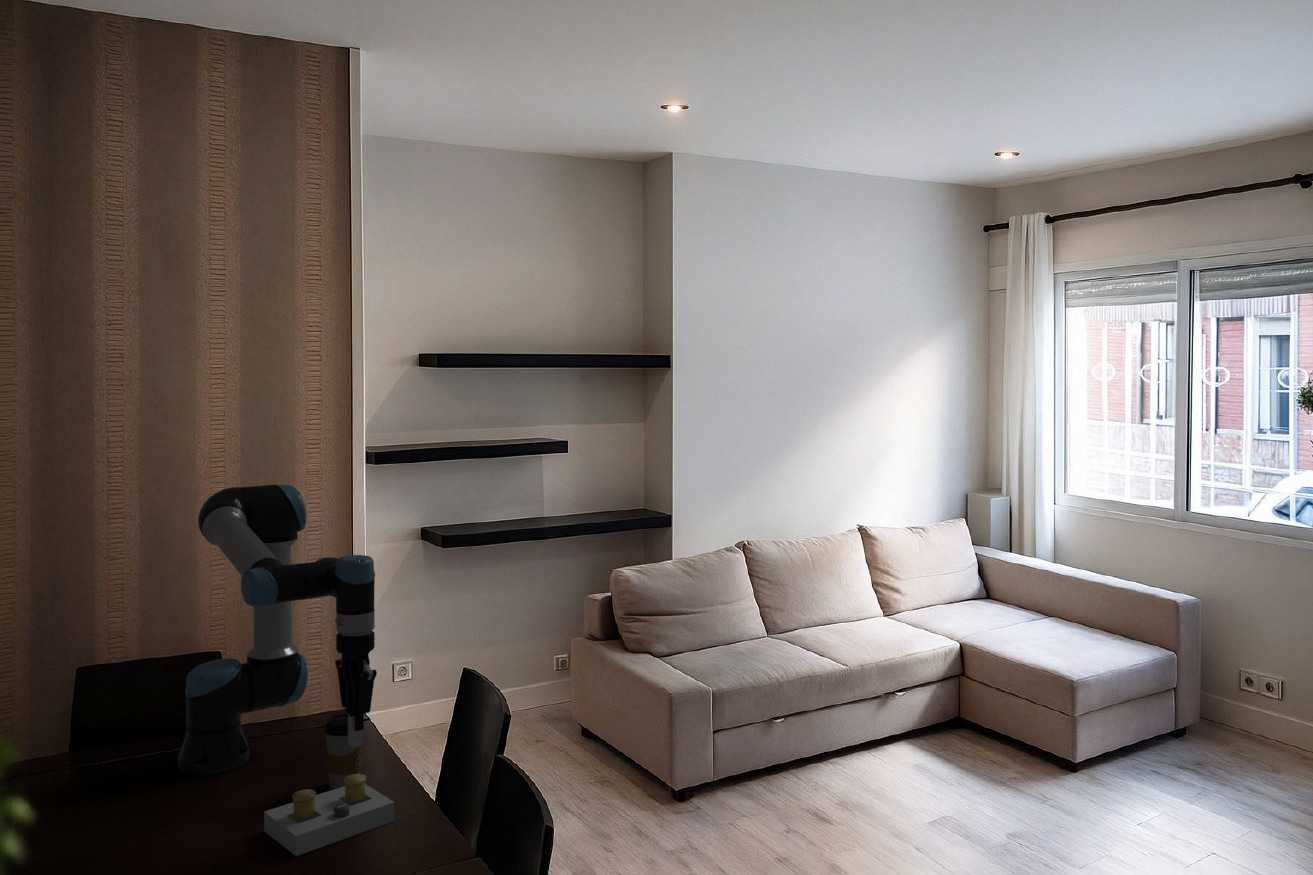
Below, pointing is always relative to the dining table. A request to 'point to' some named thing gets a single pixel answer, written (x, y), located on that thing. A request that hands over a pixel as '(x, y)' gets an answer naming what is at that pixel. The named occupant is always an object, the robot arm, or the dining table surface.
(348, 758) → the coffee cup
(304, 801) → the knob
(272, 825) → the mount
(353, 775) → the knob
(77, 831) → the dining table surface
